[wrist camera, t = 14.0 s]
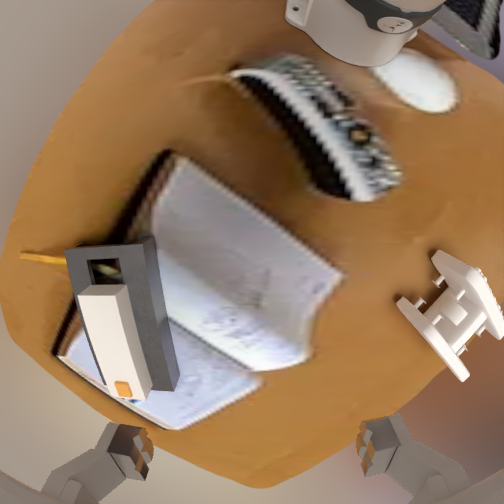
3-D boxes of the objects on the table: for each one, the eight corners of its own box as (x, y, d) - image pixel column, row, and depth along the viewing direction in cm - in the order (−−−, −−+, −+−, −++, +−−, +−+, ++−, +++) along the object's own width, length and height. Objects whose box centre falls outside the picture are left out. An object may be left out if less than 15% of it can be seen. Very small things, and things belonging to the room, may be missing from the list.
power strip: (102, 276, 38) (74, 297, 31) (136, 275, 38) (113, 297, 31) (127, 368, 42) (110, 398, 35) (158, 371, 42) (144, 403, 35)
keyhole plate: (79, 242, 38) (64, 249, 34) (154, 236, 37) (142, 243, 33) (113, 369, 43) (104, 384, 39) (180, 374, 43) (174, 391, 39)
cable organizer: (386, 295, 39) (423, 336, 28) (434, 242, 37) (483, 267, 26) (431, 346, 42) (464, 387, 30) (472, 301, 39) (513, 333, 28)
